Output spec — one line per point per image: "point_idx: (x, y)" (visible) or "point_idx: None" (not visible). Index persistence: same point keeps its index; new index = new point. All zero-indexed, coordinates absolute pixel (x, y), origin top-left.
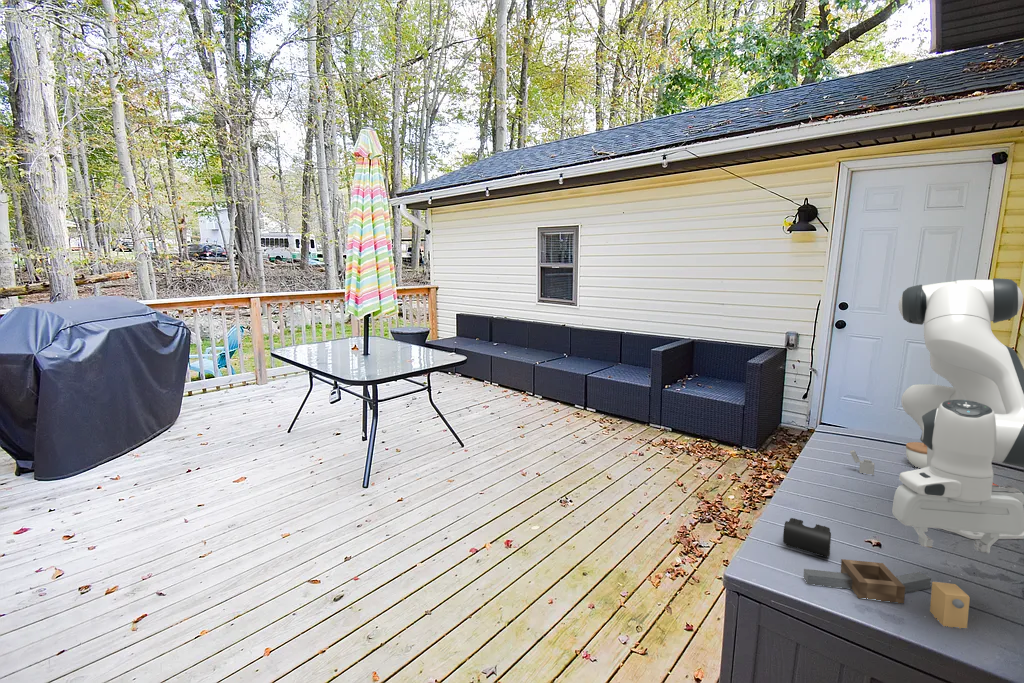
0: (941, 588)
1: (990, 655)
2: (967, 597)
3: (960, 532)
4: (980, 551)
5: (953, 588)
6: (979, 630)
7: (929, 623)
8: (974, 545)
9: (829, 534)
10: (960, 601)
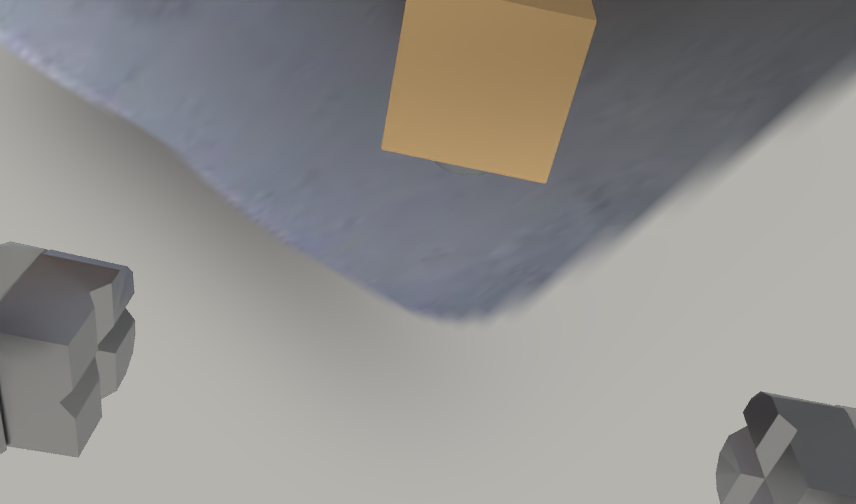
0: (409, 80)
1: (477, 243)
2: (528, 179)
3: None
4: (721, 474)
5: (516, 81)
6: (605, 84)
7: (346, 20)
8: (779, 409)
9: None
10: (466, 173)
